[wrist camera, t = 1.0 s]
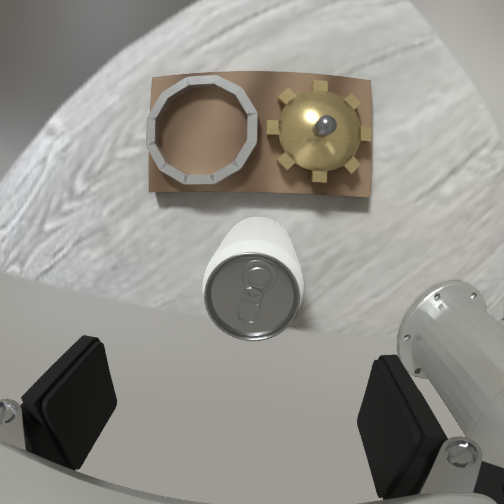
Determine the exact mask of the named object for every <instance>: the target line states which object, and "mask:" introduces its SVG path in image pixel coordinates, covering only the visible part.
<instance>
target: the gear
mask: <svg viewBox="0 0 504 504" xmlns="http://www.w3.org/2000/svg"><path fill="white" fill-rule="evenodd" d="M277 101H278V102H279V103H280V104H281V105H282V106H283V107H284V108H283V110H282V112H281V115H280V118H279V120H267V136H273V137H278V139H279V143H280V145H281V147H282V150H283V151H284V154H282V155H281V156H280V157H279V158H278V159H277V161H278V162H279V163H280V164H281V165H282V166H283V168H284V169H285V170H288V169H289V168H290V167H291V166H292V165H293V164H296V165H298V166H300V167H302V168H304V169H307V170H310V181H311V182H325V183H327V171H331V170H335V169H337V168H340V167H341V168H342V169H343V170H344V171H345V172H346V173H347V174H352V173H353V172H354V171H355V170H356V169H357V168H358V167H359V166H360V165H361V164H360V163H359V162H358V160H357V159H356V158H355V157H354V155H355V154H356V152H357V150H358V148H359V145H360V142H362V143H367V142H371V128H369V127H361V126H360V122H359V119H358V116H357V114H356V112H355V111H354V109H356V108H357V107H358V106H359V105H360V104H361V102H360V101H359V100H358V99H357V98H356V97H355V96H354V95H353V94H352V93H351V94H350V95H349V96H348V97H346V98H345V99H343V98H341V97H340V96H338V95H336V94H334V93H331V92H328V83H327V81H321V80H313V82H312V84H311V91H306V92H303V93H300V94H298V95H296V94H294V93H293V92H292V91H291V90H290V89H289V88H287V89H286V90H285V91H284V92H283V93H282V94H280V95H279V96H278V100H277Z"/></svg>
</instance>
